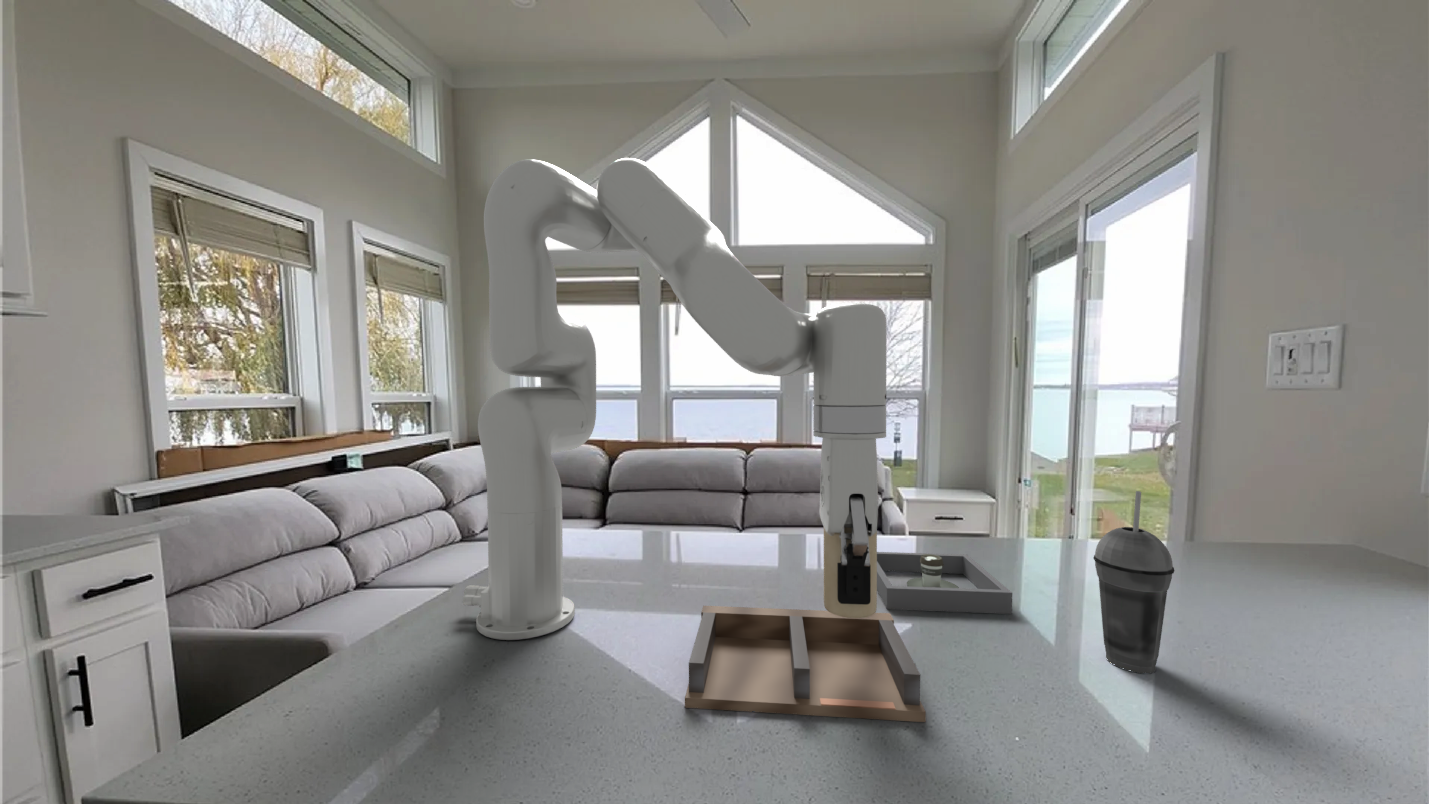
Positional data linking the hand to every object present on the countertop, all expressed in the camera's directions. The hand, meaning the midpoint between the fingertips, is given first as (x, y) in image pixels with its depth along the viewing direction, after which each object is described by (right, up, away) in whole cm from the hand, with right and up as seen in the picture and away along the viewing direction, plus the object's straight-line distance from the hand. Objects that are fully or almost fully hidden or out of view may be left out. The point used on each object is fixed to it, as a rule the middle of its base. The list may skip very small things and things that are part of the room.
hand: (849, 589), depth 57 cm
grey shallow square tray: (+19, -9, +26) cm, 34 cm away
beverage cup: (+33, -10, +4) cm, 35 cm away
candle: (0, -2, 0) cm, 2 cm away
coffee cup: (+19, -9, +26) cm, 34 cm away
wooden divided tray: (-5, -10, +2) cm, 11 cm away
